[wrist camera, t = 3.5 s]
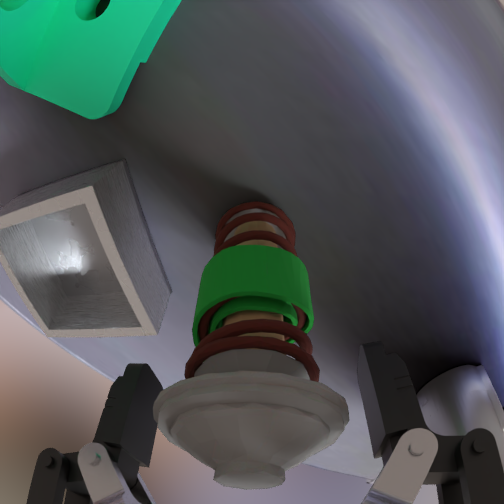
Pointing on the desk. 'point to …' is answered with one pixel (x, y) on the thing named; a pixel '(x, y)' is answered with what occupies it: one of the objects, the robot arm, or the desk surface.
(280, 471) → the shock absorber
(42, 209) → the square tray
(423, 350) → the desk surface
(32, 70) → the camera mount
